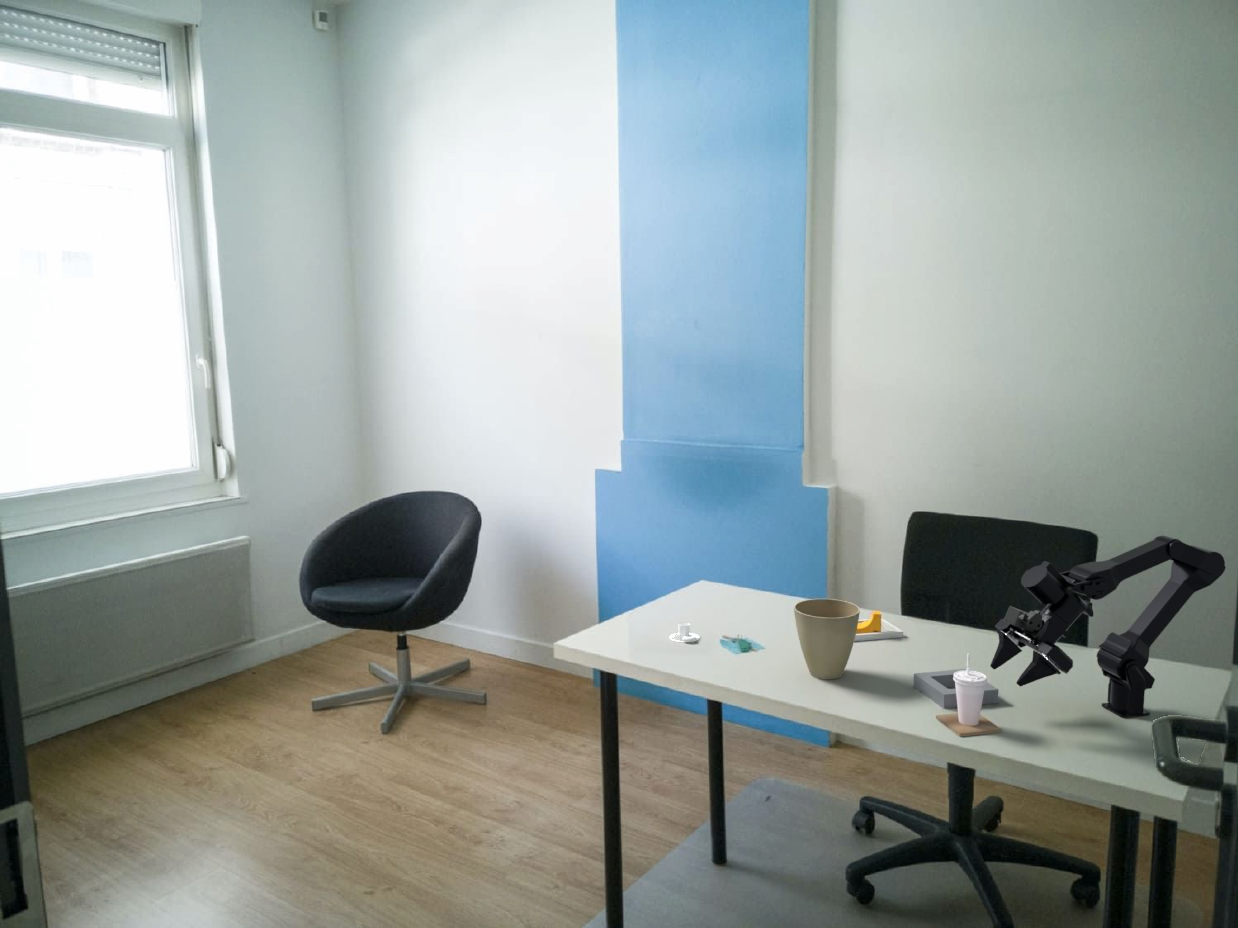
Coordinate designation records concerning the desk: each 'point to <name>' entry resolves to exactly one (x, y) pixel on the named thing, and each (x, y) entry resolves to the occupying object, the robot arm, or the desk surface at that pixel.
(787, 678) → the desk surface
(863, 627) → the pipe clamp
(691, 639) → the teacup and saucer
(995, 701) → the dock
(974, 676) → the smoothie
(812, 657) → the plant pot
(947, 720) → the pad
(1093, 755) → the desk surface
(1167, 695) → the desk surface
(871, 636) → the tray
